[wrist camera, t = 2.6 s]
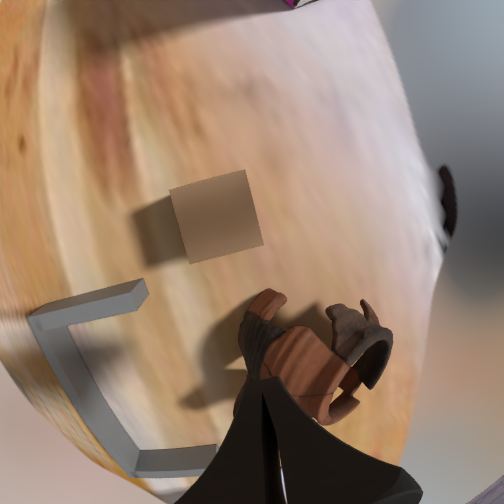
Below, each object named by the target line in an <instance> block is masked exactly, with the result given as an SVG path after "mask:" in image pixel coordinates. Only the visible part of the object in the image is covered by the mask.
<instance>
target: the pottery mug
mask: <svg viewBox="0 0 504 504" xmlns="http://www.w3.org/2000/svg"><path fill="white" fill-rule="evenodd" d="M286 302H287V298H286V296H285V295H284V294H282V293H278V292H276V291H274V290H272V289H270V288H269V289H266V290H265V291H264V292H262V293H261V294H260V295H259V296H258V297H257V298H256V299H255V300H254V301H253V303H252V304H251V306H250V307H249V309H248V311H247V312H246V313H245V315H244V317H243V320H242V322H241V324H240V329H239V334H238V341H239V345H240V349H241V351H242V353H243V357H244V360H245V363H246V367H247V370H248V374H247V379H246V382H245V384H246V383H250V382H255V381H259V380H263V379H267V378H271V377H274V376H278V377H280V378H281V381H282V383H283V384H284V386H285V388H286V389H287V391H288V392H289V393H290V395H291V396H292V397H293V399H294V400H295V401H296V402H297V403H298V404H299V405H300V407H301V408H302V409H303V410H304V411H305V412H306V413H307V414H308V415H309V416H310V417H314V418H315V419H316V420H317V421H318V423H319V424H321V425H323V426H324V425H326V426H327V425H331V424H334V423H336V422H338V421H340V420H341V419H343V418H344V417H346V416H347V415H348V414H349V413H351V412H352V411H353V410H354V409H355V408H356V407H357V406H358V405H359V403H360V401H359V400H357V399H356V398H354V397H353V394H354V393H355V392H356V390H357V389H358V388H359V386H360V385H361V383H362V382H363V383H364V384H365V386H366V387H367V388H368V389H369V390H371V389H373V387H374V386H375V384H376V383H377V381H378V380H379V378H380V376H381V375H382V373H383V371H384V369H385V367H386V365H387V362H388V360H389V357H390V354H391V349H392V345H393V334H392V332H391V330H389V329H388V328H383V327H381V326H380V324H379V321H378V318H377V316H376V314H375V312H374V311H373V309H372V308H371V306H370V305H369V304H368V303H367V302H366V301H365V300H364V299H362V300H361V301H360V305H361V307H362V309H363V311H364V316H363V314H361V313H360V312H358V311H357V310H354V309H349V308H347V307H346V306H345V305H343V304H335V305H331V306H329V307H327V308H326V310H325V311H326V314H327V316H328V317H329V318H330V319H331V320H332V330H333V341H332V348H331V349H329V348H328V347H327V346H326V345H325V344H324V343H323V342H322V341H321V340H320V339H319V338H318V337H317V336H316V335H315V334H314V332H313V331H312V330H311V329H310V328H309V327H304V326H294V327H292V328H291V329H289V330H288V331H286V332H285V331H284V330H283V329H281V328H278V327H275V326H273V325H271V324H270V323H269V321H270V320H271V319H272V317H273V316H274V314H275V313H276V312H277V311H278V310H279V309H280V308H281V307H282V306H283V305H284V304H285V303H286ZM362 354H363V355H362ZM361 355H362V356H361ZM360 356H361V357H360ZM359 357H360V358H359ZM358 358H359V359H358ZM357 359H358V360H357ZM356 360H357V362H356V363H355V361H356ZM354 363H355V364H354ZM353 364H354V365H353ZM351 365H353V367H350V366H351ZM245 384H244V385H245ZM244 385H243V386H244ZM337 387H340V388H341V389H342V390H344V391H343V392H342V394H341V395H339V396H338V397H337V398H336V399H335V400H334V401H333V402H332V403H330V402H331V400H332V397H333V393H334V391H335V390H336V389H337ZM242 390H243V387H242V389H241V391H240V392H239V394H238V396H237V398H236V401H235V404H234V410H233V417H234V416H235V413H236V411H237V408H238V405H239V402H240V398H241V394H242Z"/></svg>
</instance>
